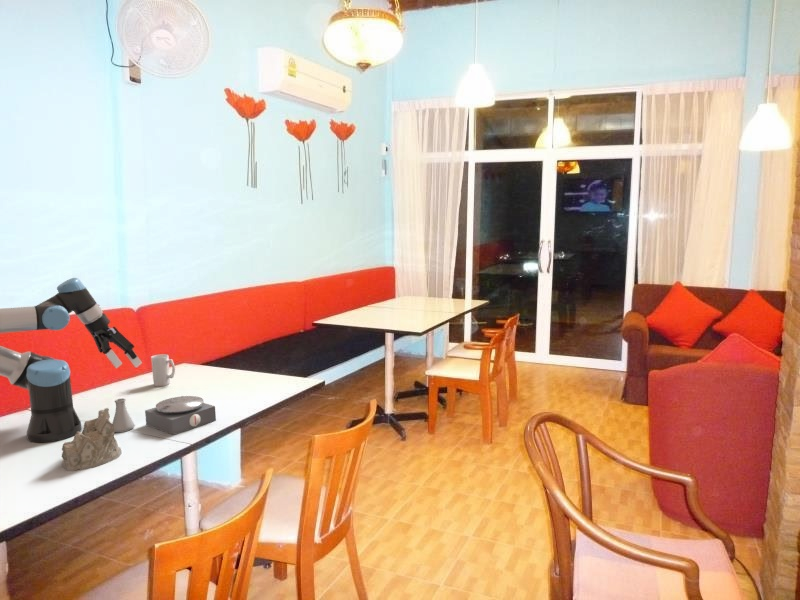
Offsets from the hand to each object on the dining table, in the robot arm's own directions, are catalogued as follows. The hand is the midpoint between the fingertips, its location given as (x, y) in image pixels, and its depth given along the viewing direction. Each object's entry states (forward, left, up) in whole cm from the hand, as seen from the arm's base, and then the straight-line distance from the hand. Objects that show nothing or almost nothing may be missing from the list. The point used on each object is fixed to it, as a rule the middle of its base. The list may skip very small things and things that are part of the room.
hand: (128, 365), depth 212 cm
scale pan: (0, -31, -9) cm, 33 cm away
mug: (+23, +16, -16) cm, 32 cm away
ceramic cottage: (-31, -35, -16) cm, 50 cm away
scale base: (0, -31, -15) cm, 35 cm away
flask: (-14, -20, -16) cm, 29 cm away
